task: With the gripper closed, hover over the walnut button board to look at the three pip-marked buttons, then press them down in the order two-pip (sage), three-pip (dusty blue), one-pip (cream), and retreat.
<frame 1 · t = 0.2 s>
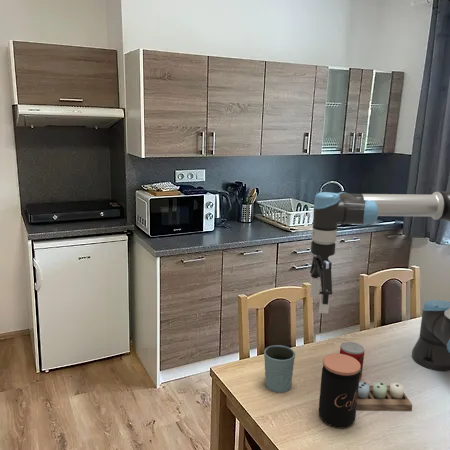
hand: (318, 304, 144), 28 cm above the table, fingers open, 13 cm apart
one-pip button: (396, 390, 139), point 4 cm above the table, slide at 0.0 cm
two-pip button: (379, 389, 139), point 4 cm above the table, slide at 0.0 cm
teal cup: (277, 385, 147), on the table
coffee jar: (336, 417, 131), on the table
three-pip button: (362, 389, 139), point 4 cm above the table, slide at 0.0 cm
canned food: (349, 376, 153), on the table
button board: (378, 400, 140), on the table
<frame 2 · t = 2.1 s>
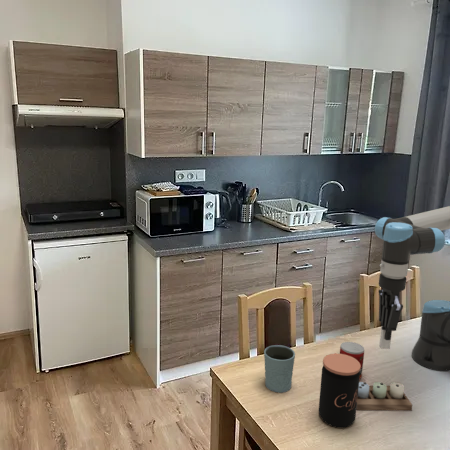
hand: (384, 347, 136), 18 cm above the table, fingers closed
nothing on the table moved.
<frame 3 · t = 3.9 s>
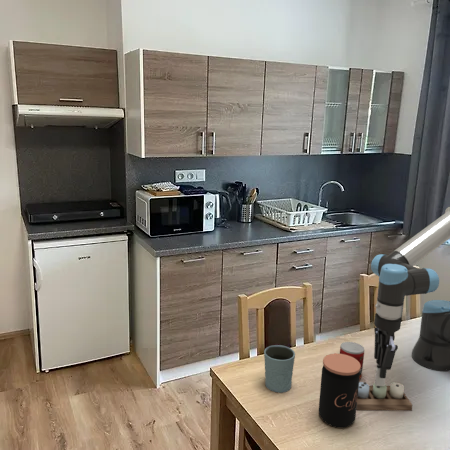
hand: (379, 384, 138), 6 cm above the table, fingers closed
two-pip button: (379, 390, 139), point 4 cm above the table, slide at 0.0 cm, touching gripper
everything else where it was.
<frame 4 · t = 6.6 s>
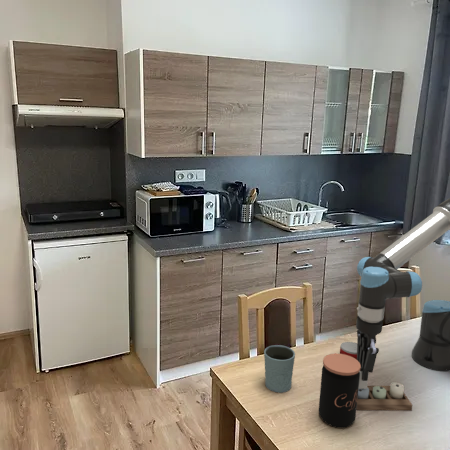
hand: (362, 387, 138), 5 cm above the table, fingers closed
two-pip button: (379, 393, 139), point 2 cm above the table, slide at 1.4 cm
three-pip button: (361, 392, 139), point 3 cm above the table, slide at 1.1 cm, touching gripper
everything else where it was.
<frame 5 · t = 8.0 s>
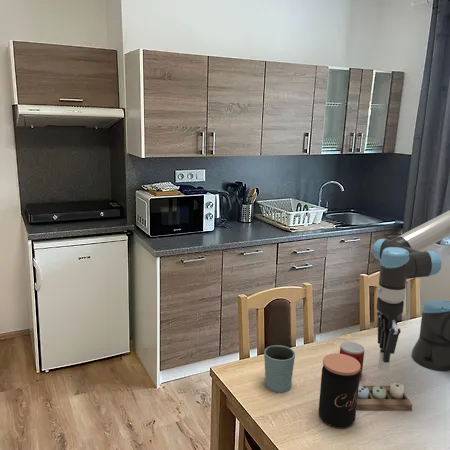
hand: (383, 369, 138), 11 cm above the table, fingers closed
three-pip button: (361, 393, 139), point 2 cm above the table, slide at 1.4 cm
everything else where it was.
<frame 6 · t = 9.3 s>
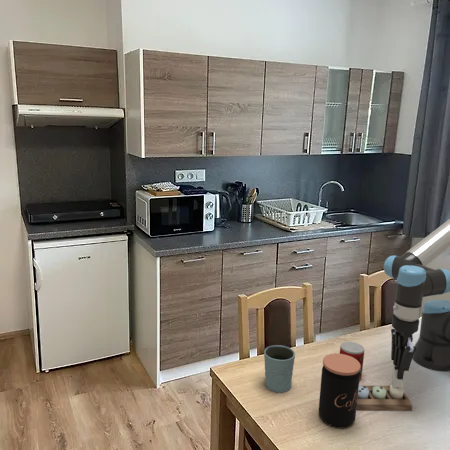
hand: (396, 386, 139), 5 cm above the table, fingers closed
one-pip button: (396, 391, 139), point 3 cm above the table, slide at 0.5 cm, touching gripper
everything else where it was.
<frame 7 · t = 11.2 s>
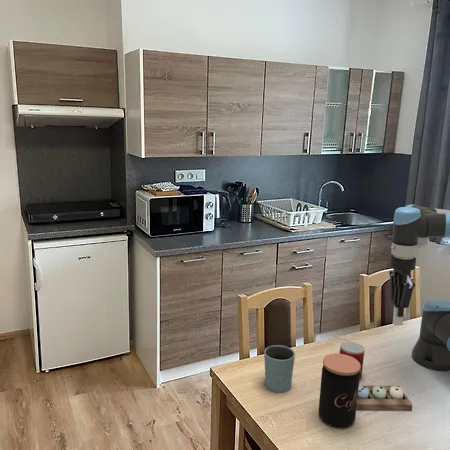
hand: (397, 324, 145), 21 cm above the table, fingers closed
one-pip button: (396, 393, 139), point 2 cm above the table, slide at 1.4 cm
everything else where it was.
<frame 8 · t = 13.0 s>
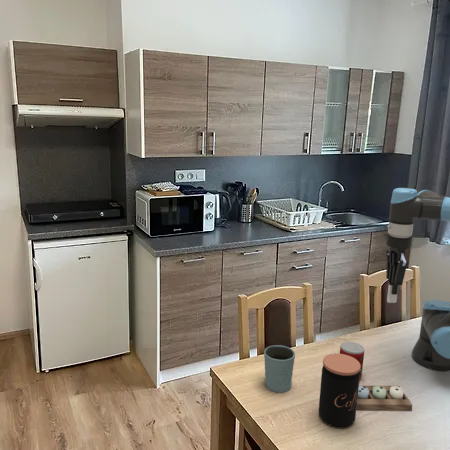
hand: (391, 301, 151), 26 cm above the table, fingers closed
nothing on the table moved.
at the end: two-pip button slide at 1.4 cm; three-pip button slide at 1.4 cm; one-pip button slide at 1.4 cm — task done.
